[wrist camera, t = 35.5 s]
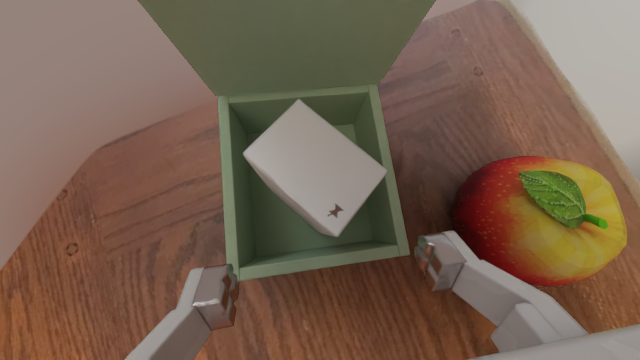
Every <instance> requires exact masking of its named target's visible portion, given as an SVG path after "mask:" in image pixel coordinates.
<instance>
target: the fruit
mask: <svg viewBox="0 0 640 360" xmlns="http://www.w3.org/2000/svg"><path fill="white" fill-rule="evenodd" d="M452 221H453V224H454V228H455V231H456V233H457V234H458V236H459V237H460V238H461V239H462V240H463V241H464V242H465V244H466V245H467V246H468V247H469V248H470V249H471V251H472V252H473V253H474V254H475V255H476V256H477V258H478V259H479V260H484V261H486V262H488V263H490V264H492V265H494V266H496V267H497V268H499V269H501V270H503V271H505V272H507V273H509V274H510V275H512V276H514V277H516V278H518V279H520V280H522V281H523V282H525V283H527V284H531V285H539V286H560V285H566V284H570V283H574V282H577V281H581V280H585V279H587V278H589V277H591V276H593V275H594V274H595V273H597V272H598V271H599V270H601V269H602V268H604V267H605V266H606V265H608V264H609V263H610V262H612V261H613V260H614V259H615V258H616V257H617V255H618V254H619V253H620V252H621V250H622V249H623V248H624V246H625V245H626V244H627V229H626V225H625V221H624V217H623V214H622V211H621V208H620V205H619V202H618V199H617V197H616V194H615V192H614V190H613V188H612V186H611V184H610V183H609V182H608V181H607V180H606V179H605V178H604V177H603V176H602V175H601V174H599V173H598V172H596V171H595V170H593V169H591V168H589V167H586V166H584V165H581V164H579V163H576V162H572V161H568V160H563V159H553V158H544V157H537V156H519V157H513V158H507V159H502V160H498V161H494V162H492V163H489V164H487V165H486V166H484V167H482V168H480V169H479V170H477V171H475V172H474V173H472V174H471V175H470V176H469V177H468V178H467V179H466V181H465V182H464V183H463V184H462V186H461V187H460V188H459V190H458V191H457V194H456V197H455V200H454V203H453V215H452Z"/></svg>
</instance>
